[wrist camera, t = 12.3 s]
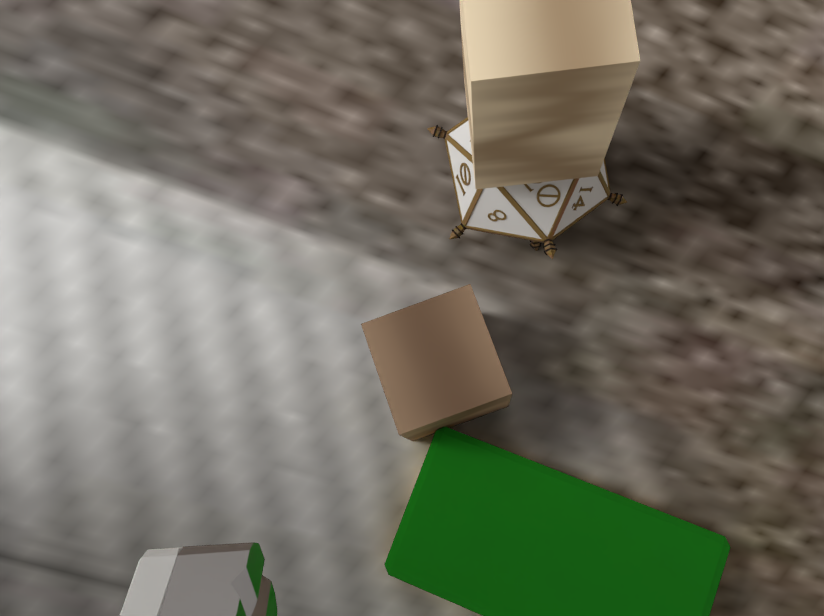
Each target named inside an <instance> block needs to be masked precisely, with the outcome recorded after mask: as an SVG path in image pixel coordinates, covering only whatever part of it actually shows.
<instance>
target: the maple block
mask: <svg viewBox="0 0 824 616" xmlns="http://www.w3.org/2000/svg"><path fill="white" fill-rule="evenodd" d="M460 16H461V33H462V50H463V67H464V82H465V92H466V101H467V111H468V121H469V131H470V140H471V150H472V160H473V170H474V179H475V189H484V188H493V187H503V186H512V185H521V184H530V183H539V182H549V181H558V180H567V179H576V178H585V177H594V176H598V174H599V172H600V169H601V166H602V163H603V161H604V158H605V155H606V153H607V150H608V147H609V144H610V142H611V139H612V136H613V134H614V131H615V128H616V125H617V123H618V120H619V117H620V115H621V112H622V109H623V106H624V104H625V101H626V98H627V96H628V93H629V90H630V87H631V85H632V82H633V79H634V77H635V74H636V71H637V68H638V66H639V63H640V56H639V50H638V44H637V37H636V31H635V25H634V18H633V12H632V6H631V0H460Z"/></svg>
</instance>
